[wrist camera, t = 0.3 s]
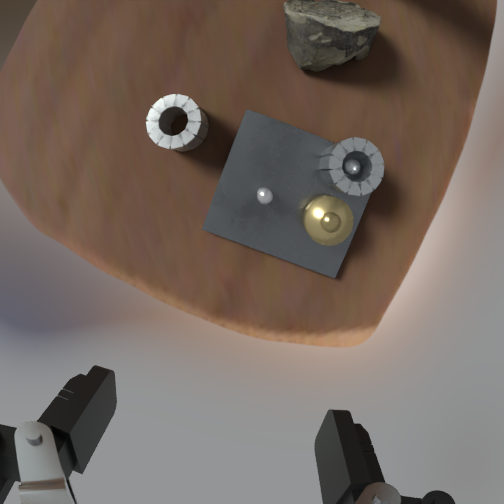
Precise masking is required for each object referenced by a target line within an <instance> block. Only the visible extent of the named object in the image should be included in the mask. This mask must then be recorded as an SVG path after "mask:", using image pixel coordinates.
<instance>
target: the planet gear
mask: <svg viewBox="0 0 504 504" xmlns="http://www.w3.org/2000/svg"><path fill="white" fill-rule="evenodd" d="M163 99H164V100H163ZM163 99H162V98H161V99H160V100H158V101H157V102H156V103H155V104H154V105H153V106H152V107H153V108H154V109H152V108H151V109H150V111H149V114H148V117H147V119H146V120H148V121H147V122H146V125H147V132H148V134H150V135H149V136H150V138H151V139H152V140H153V141H154V142H155V144H157V145H158V146H161V147H165V148H168V149H172V150H176V151H180V152H181V151H182V152H184V151H189V150H193V148H197V147H198V146H199V145H200V144H201V143H202V142H204V141H203V140H202V139H204V140H205V138H206V136H207V133H208V130H209V129H208V128H209V124H208V118H207V116H206V114H205V113H204V112H203V111H202V110H201V109H200V108H199V106H198V105H197V104H196V103H195V102H194V101H193V100H192V99H191V98H189V97H187V96H183V95H180V94H177V95H176V94H173V95H169V96H165V97H163ZM185 114H187V116H188V124H187V126H186V129H185V130H184V131H183V132H181V133H180V134H179V135H175V136H174V135H173V134H172V129H171V126H172V123H173V121H174V120H175V119H176V118H177V117H178V116H180V115H185Z"/></svg>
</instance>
